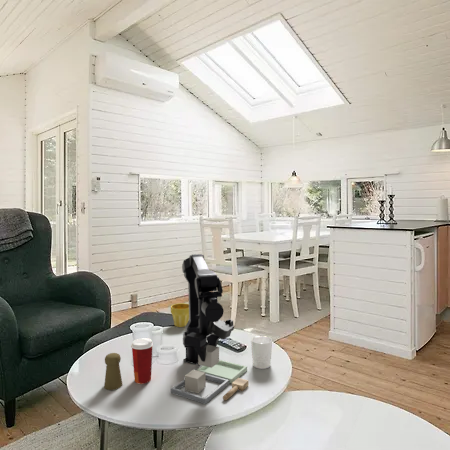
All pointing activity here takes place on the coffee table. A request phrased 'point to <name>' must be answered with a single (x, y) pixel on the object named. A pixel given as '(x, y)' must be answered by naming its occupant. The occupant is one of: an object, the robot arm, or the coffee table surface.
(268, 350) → the white cup
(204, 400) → the bin
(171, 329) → the coffee table surface
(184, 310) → the plant pot
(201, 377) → the beige cube
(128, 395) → the coffee table surface
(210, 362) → the beige cube
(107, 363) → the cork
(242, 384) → the wooden mallet
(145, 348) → the paper cup
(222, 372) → the bin
